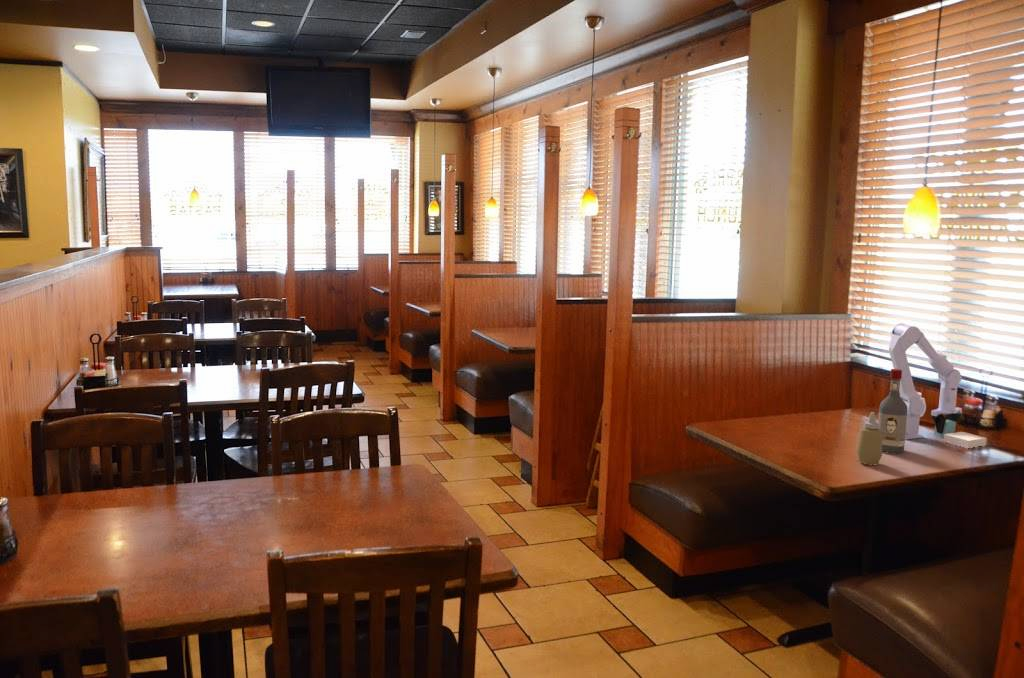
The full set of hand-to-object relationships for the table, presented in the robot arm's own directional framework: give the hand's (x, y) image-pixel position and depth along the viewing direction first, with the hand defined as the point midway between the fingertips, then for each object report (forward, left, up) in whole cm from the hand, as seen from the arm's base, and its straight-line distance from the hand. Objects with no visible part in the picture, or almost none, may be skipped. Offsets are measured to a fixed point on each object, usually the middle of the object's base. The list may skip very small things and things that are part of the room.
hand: (944, 432), depth 314 cm
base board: (-3, -11, -1) cm, 11 cm away
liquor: (-37, -7, -2) cm, 38 cm away
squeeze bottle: (-57, -16, -2) cm, 59 cm away
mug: (+8, +21, -2) cm, 23 cm away
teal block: (0, 0, -1) cm, 1 cm away
